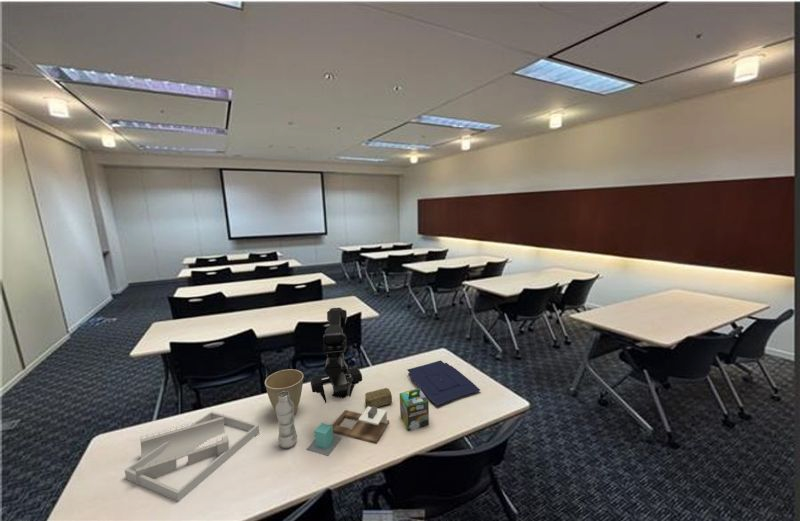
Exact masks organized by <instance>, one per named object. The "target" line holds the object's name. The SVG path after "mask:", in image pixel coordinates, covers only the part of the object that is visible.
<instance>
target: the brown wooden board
mask: <svg viewBox="0 0 800 521" xmlns="http://www.w3.org/2000/svg"><path fill="white" fill-rule="evenodd" d="M362 414H363V413H360V412H356V411H353V410H352V411H351V410H347V409H344V411H343V412H341V414H339V416H338V417H337V418H336V420H334V422H333V424H331V425H332V426H333V434H336V435H340V436H345V437H348V438H352V439H356V440H360V441H364V442H368V443H372V444H375V445H377V444H378V443H379V441H380V439H381V437H382V436H383V434H384V433H385V431H386V429H387V428H388V427H389V424H390V420H388V419H387V423H382V422H380V423H379V425H374V424H370V423H366V422H362V421H358V419H359V418H360V416H361V415H362ZM345 419H349V420H354V421H356V422H355V424H353V427H352V428H348V427H345V426H341V424H342V423H343V421H344V420H345Z"/></svg>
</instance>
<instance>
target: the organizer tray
mask: <svg viewBox="0 0 800 521" xmlns="http://www.w3.org/2000/svg"><path fill="white" fill-rule="evenodd" d="M220 414H221V415H220ZM223 415H224V426H229V427H233V428H235V429H240V430H243V431H246V433H244V435H242V436H241V437H240V438H239V439H237V441H235V442H234V443H233V444H232V445H230V447H229V450H227V451H225V452H223V453H222V454H221V455H220V456H219V457H216V458H215V459H213V461H211V462H210V463H209V464H207V465H206V466H205V467H204V468H203V469H202V470H201V471H200V472H198V473H197V474H196V475H195V476H194V477H192V478H191V479H190V480H188V482H187V483H185V484H184V485H183V486H181V487H180V488H179V489H178V488H174V487H172V486H170V485H167V484H166V483H163V482H161V481H158V480H156V479H152V478H149V477H147V476H145V475H140V476H139V484H140V486H141V487H144V488H147V489H148V490H150V491H151V490H152V491H153V492H156V493H158V494H160V495H162V496H165V497H168V498H169V499H172V500H174V501H177V502H181V501H182V499H184V498H185V497H186V496H187V495H189V494H190V493H191V492H192V491H193V490H194V489H196V488H197V487H198V486H199V485H200V484H201V483H203V482H204V481H205V480H206V479H208V477H209V476H211V475H212V474H213V473H214V472H215V471H216V470H218V469H219V468H221V466H222V465H223V464H225V463H226V462H227V461H228V460H230V459H231V457H233V456H234V455H236V453H237V452H239V451H240V450H241V449H242V448H243V447H244V446H246V445H247V444H248V443H249V442H250V441H251V440H252V439H255V437H256V436H257V435H258V434H259V435H260V426H259V424H256V423H253V422H250V421H247V420H243V419H239V418H236V417H233V416H229V415H225V414H222V413H219V412H215V411H212V410H211V411H210V412H208V413H207V414H205V415H204V416H203V417H202V418H200V419H198V420H196V422H195V421H194V422H193V423H194V424H192V423H191V425H195V424H198V423H202V422H203V420H202V419H204V422H205V421H209V420H213V419H216V418H218V416H219V418H220V417H223ZM213 416H214V417H213ZM209 417H210V418H209ZM208 418H209V419H208ZM211 418H212V419H211ZM207 419H208V420H207ZM200 421H201V422H200ZM259 435H258V436H259ZM258 436H257V437H258ZM257 437H256V438H257ZM169 443H170V441H168V442H165V443H164V444H162V445H161V446H159V447H158V448H156V449H155V450H153V451H152V452H150V453H149V454H147V455H146V456H145V457H143V458H142V459H141V458H140V459H138V460H137V461H136V462H134V463H133V464H132V465H129V466H128V467H126V468H125V469H124V474H125V478H127V479H126V480H128V479H129V480H128V481H130V480H131V481H130V482H132V481H133V483H134V484H137V481H136V471H135V469H137V467H138V468H140V467H142V466H144V465H146V464H147V463H148V462H150V461H151V460H153V459H154V458H156V457H157V456H158V455H160V454H161V453H162V452H163V451H164V450H165V449H166V448H167V446H168V445H169ZM135 467H136V468H135Z"/></svg>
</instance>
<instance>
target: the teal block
mask: <svg viewBox="0 0 800 521" xmlns="http://www.w3.org/2000/svg"><path fill="white" fill-rule="evenodd" d="M332 425H333V424H327V423H324V422H321V423H320V424H319V426H317V428H315V430H314V440H315V442H316V446H317V447H321V448H324V449H327V448H328V447H329V445H330V444H331V443H332V441H333V435H334V433H333V426H332Z"/></svg>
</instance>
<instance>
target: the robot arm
mask: <svg viewBox="0 0 800 521" xmlns="http://www.w3.org/2000/svg"><path fill="white" fill-rule="evenodd" d="M347 313H348V312H347V310H346V309H343V308H342V307H331V308H329V310H328V311H327V312H326V318H327V319H326V320H327V322H328V324H329V326H328V327H326V329H325V331H324V334H323V335H322V355H326V357H327V358H326V361H325V366H324V373H325V374H326V375H327V377H328V378H327V377H326V378H324V379H322V376H321V375H320V376H316V377H312V378H310V380H309V382H310V387H311V392H312V393H316V394H320V395H321V397H322V400H323V401H324V403H325V404H327V397H326V393H325V389H324V386H326V385H331V386H332V388H333V393H332V394H331V396H332V397H333V398H340V399H345V398H346V397H347V396H348V397H349V398H350V397H351V396H352V393H353V391H354V388H355V386H356V385H358V384H359V383H360V382H362V381H363V374H362V372H361V370H360V369H359V368H358V367H356V368H351V369H349V367H348V366H349V365H348V364H347V362H346V361H345V355H344V353H345V352H346V349H347V335H346V334H345V332H343V330H344V328H345V327H346V323H347V321H348V315H347Z"/></svg>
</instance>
